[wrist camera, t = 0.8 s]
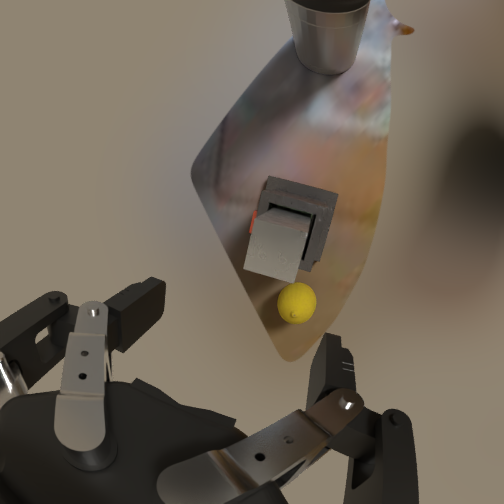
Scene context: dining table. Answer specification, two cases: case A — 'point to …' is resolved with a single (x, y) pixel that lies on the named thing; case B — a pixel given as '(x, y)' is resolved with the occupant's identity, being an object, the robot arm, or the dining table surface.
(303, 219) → the column
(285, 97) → the dining table surface
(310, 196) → the stand base
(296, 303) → the lemon
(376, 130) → the dining table surface
